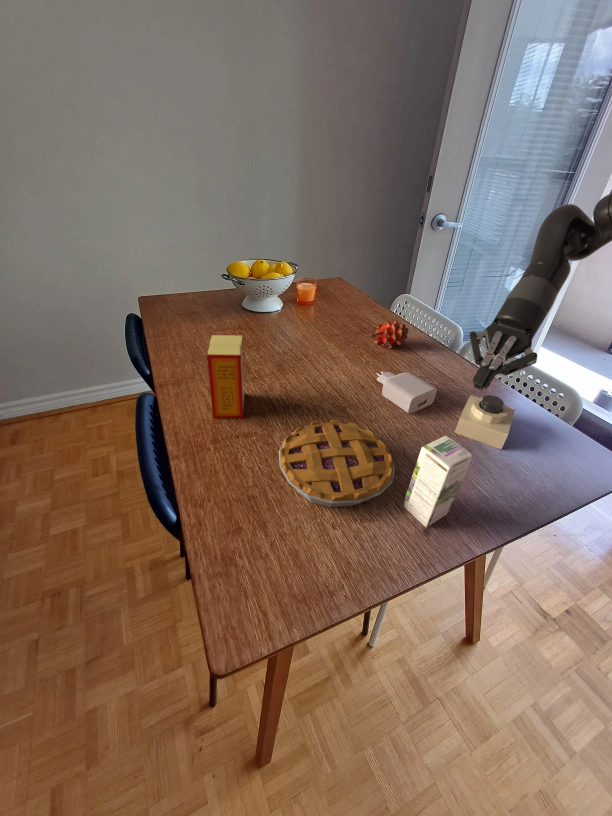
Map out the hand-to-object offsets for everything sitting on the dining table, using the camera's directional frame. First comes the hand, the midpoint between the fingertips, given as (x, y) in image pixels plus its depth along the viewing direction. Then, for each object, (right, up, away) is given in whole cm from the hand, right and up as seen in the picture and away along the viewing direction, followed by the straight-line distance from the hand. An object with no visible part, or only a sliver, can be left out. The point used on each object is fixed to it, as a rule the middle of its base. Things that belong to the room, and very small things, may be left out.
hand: (477, 387), depth 73 cm
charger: (-8, 0, +27) cm, 28 cm away
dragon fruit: (-7, +15, +49) cm, 52 cm away
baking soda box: (-49, -3, +19) cm, 53 cm away
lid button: (+9, -4, +14) cm, 17 cm away
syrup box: (-11, -22, -3) cm, 25 cm away
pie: (-26, -16, +4) cm, 31 cm away
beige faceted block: (+9, -8, +17) cm, 21 cm away
